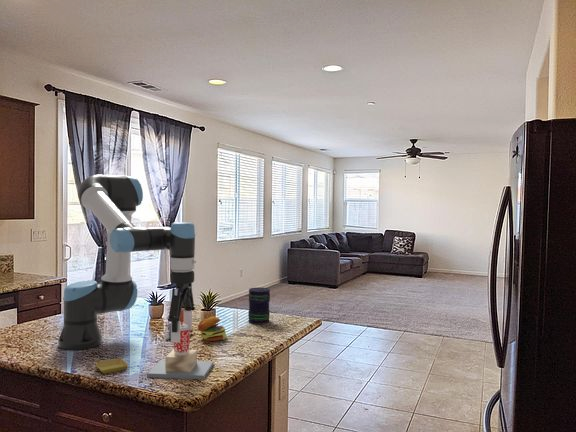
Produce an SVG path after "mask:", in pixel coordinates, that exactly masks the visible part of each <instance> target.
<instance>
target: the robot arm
mask: <svg viewBox="0 0 576 432" xmlns="http://www.w3.org/2000/svg"><path fill="white" fill-rule="evenodd" d="M77 197H78V201H79V202H80V204H81V205H82V206H83V207H84V208H85V209H86V210H88V211H90V212H91V213H93V215H94V216H95V217H96V218H97V220H98V221H99V223H101V224H102V226H103V227H104V228H105V230H107V241H106V242H107V243H106V258H105V259H106V260H105V261H106V262H105V274H103V275H102V276H101V277H100V278H101V279H100V283H98V282H97V281H96V280H90V279H89V280H82V281H76V282H73V283H70V284H68V285H67V286H66V287H64V290H63V297H62V300H63V325H62V326H63V327H62V329H61V332H60V335H59V338H58V344H57V346H58V348H59V349H62V350H68V351H70V350H71V351H74V350H76V351H77V350H79V351H80V350H87V349H90V348H91V349H92V348H94V347H97V346H99V345H101V344H102V342H103V337H102V333H101V329H100V327H99V324H98V315H102V314H108V313H114V312H123V311H125V310H129V309H132V308H133V307H134V305H135V304H136V301H137V298H138V288H137V287H138V285H137V283H136V282H135V281H134V280H133V277H132V276H131V275H130V274H129V272H130V269H129V267H130V253H133V252H145V251H147V252H148V251H162V250H163V251H170V263H169V264H170V270H171V271H170V281H169V282H170V283H171V284H175V288H172V289H171V300H170V301H171V302H170V305H169V306H170V307H169V312H168V318H167V322H170V324H171V339H170V342H171V343H174V342H180V324H181V319H180V318H181V310H183V309H184V310H183V323H186V324H190V325H191V329H190V330H193V311H195V308H196V306H195V303H194V295H193V289H192V287H193V283H194V282H195V270H194V269H195V264H196V263H197V261H196V260H195V254H196V253H195V249H196V247H195V246H196V242H195V241H196V233H195V231H196V230H195V224H194V223H193V222H187V221H186V222H183V221H182V222H178V221H177V222H172V223H171V225H170V226H165V225H164V226H156V227H136V226H135V225H134V223H133V222H132V218H133V217H132V216H133V214H134V213H135V212H137V207H138V206H140V205H142V202H143V198H144V194H143V187H142V184H141V183H140V180H139V179H138V178H136V177H134V176H129V175H116V174H93V175H90V176H88V177H87V178H85V179H84V180H83V181H82V182H81V183H80V185H79V186H78V190H77ZM182 308H183V309H182Z"/></svg>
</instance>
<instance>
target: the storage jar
mask: <svg viewBox="0 0 576 432" xmlns="http://www.w3.org/2000/svg"><path fill="white" fill-rule="evenodd" d="M270 292H271V290H270V288H269V287H251V288H248V302H249V303H248V313H247V314H248V323H249V324H251V325H266V324H269V323H270V301H271V298H270V297H271V295H270Z"/></svg>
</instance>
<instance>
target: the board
mask: <svg viewBox="0 0 576 432" xmlns="http://www.w3.org/2000/svg"><path fill="white" fill-rule="evenodd" d="M165 360H166V359H160V360H159V361H158V362H157V363H155V365H154V366H153V367H152V368H151V369H150V370H149V371H147V373H146V378H158V379H159V378H160V379H180V380H181V379H182V380H184V379H186V380H205V378H206V377H207V376H208V375H209V374H208V373H210V372H211V370H212V368H213V367H214V361H213V360H212V361H210V360H208V361H207V360H197V364H196V365H195V367H194V368H193V369H192V371H191V372H175V371H165Z"/></svg>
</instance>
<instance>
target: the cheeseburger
mask: <svg viewBox="0 0 576 432" xmlns="http://www.w3.org/2000/svg"><path fill="white" fill-rule="evenodd" d="M220 321H221V319H220V318H219V317H217V316H213V315H212V316H210V317H207V318H204V319H201V320H200V321H199V322H198V326H197V330H198V331H200V333H201V334H200V335H201V336H200V337H201V338H202V340H203V341H206V342H216V341H221V340H222V341H224V340H226V338H227V334H226V333H227V331H226V328H225V327H224V326H223V325H219V324H220V323H219V322H220Z"/></svg>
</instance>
